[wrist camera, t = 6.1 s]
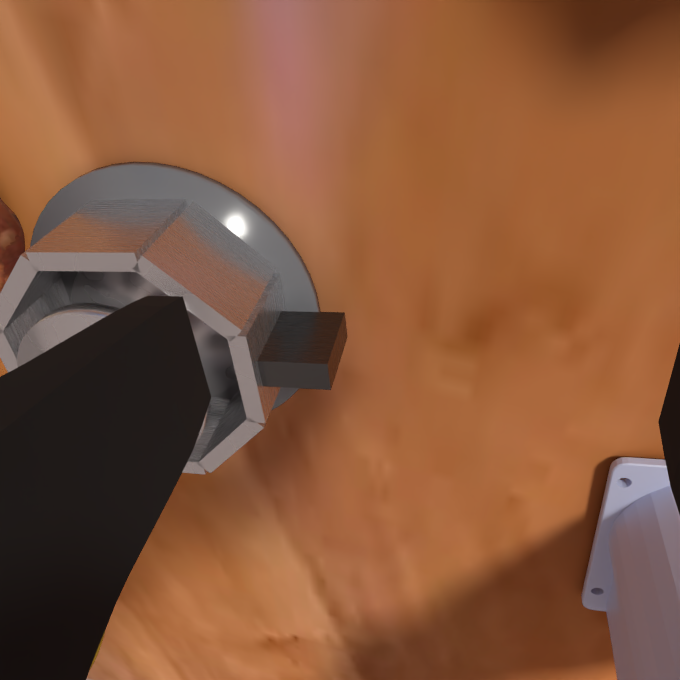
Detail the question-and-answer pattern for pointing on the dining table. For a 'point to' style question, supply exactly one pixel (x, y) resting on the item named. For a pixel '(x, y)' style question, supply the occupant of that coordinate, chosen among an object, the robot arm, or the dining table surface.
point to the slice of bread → (9, 242)
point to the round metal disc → (196, 187)
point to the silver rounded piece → (109, 296)
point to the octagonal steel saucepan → (200, 299)
